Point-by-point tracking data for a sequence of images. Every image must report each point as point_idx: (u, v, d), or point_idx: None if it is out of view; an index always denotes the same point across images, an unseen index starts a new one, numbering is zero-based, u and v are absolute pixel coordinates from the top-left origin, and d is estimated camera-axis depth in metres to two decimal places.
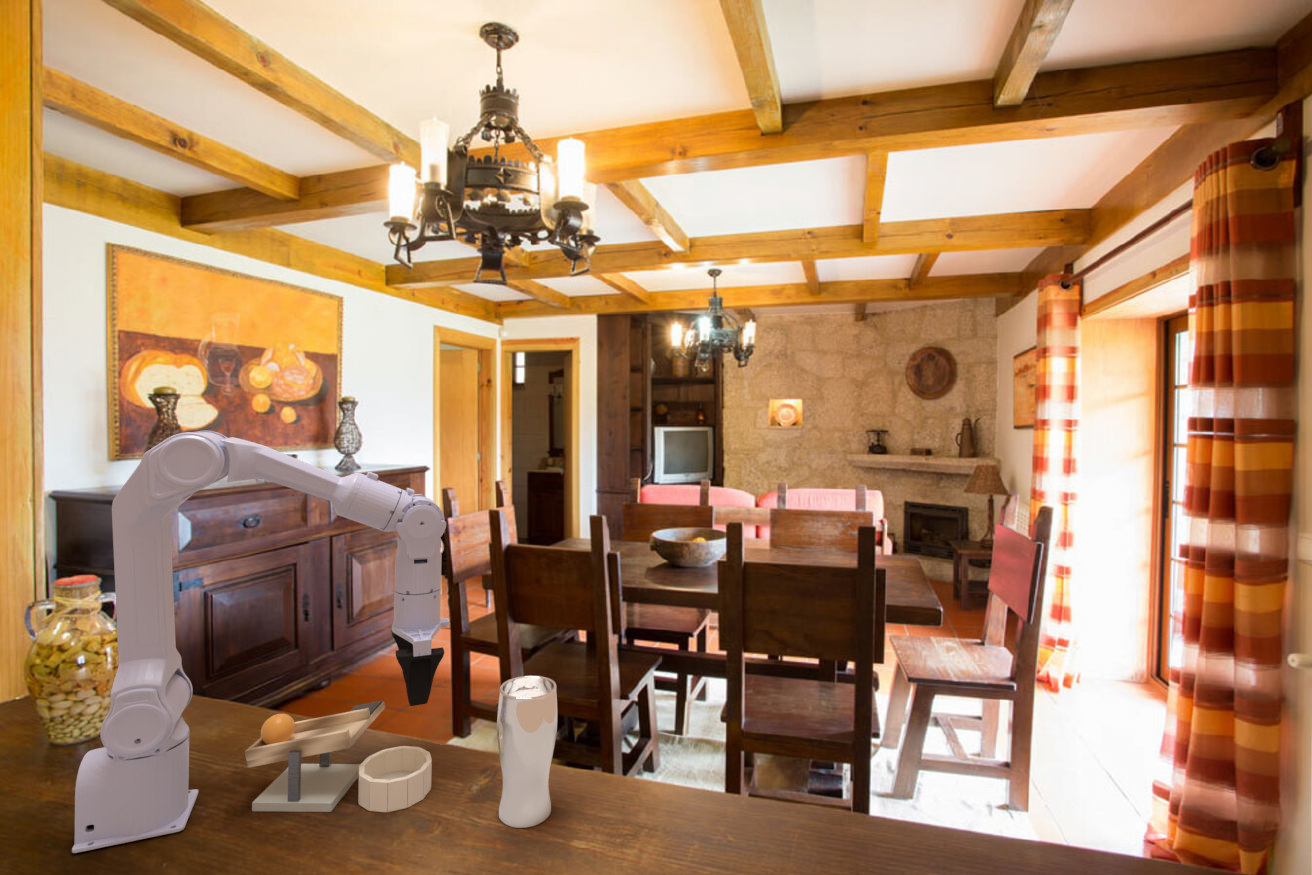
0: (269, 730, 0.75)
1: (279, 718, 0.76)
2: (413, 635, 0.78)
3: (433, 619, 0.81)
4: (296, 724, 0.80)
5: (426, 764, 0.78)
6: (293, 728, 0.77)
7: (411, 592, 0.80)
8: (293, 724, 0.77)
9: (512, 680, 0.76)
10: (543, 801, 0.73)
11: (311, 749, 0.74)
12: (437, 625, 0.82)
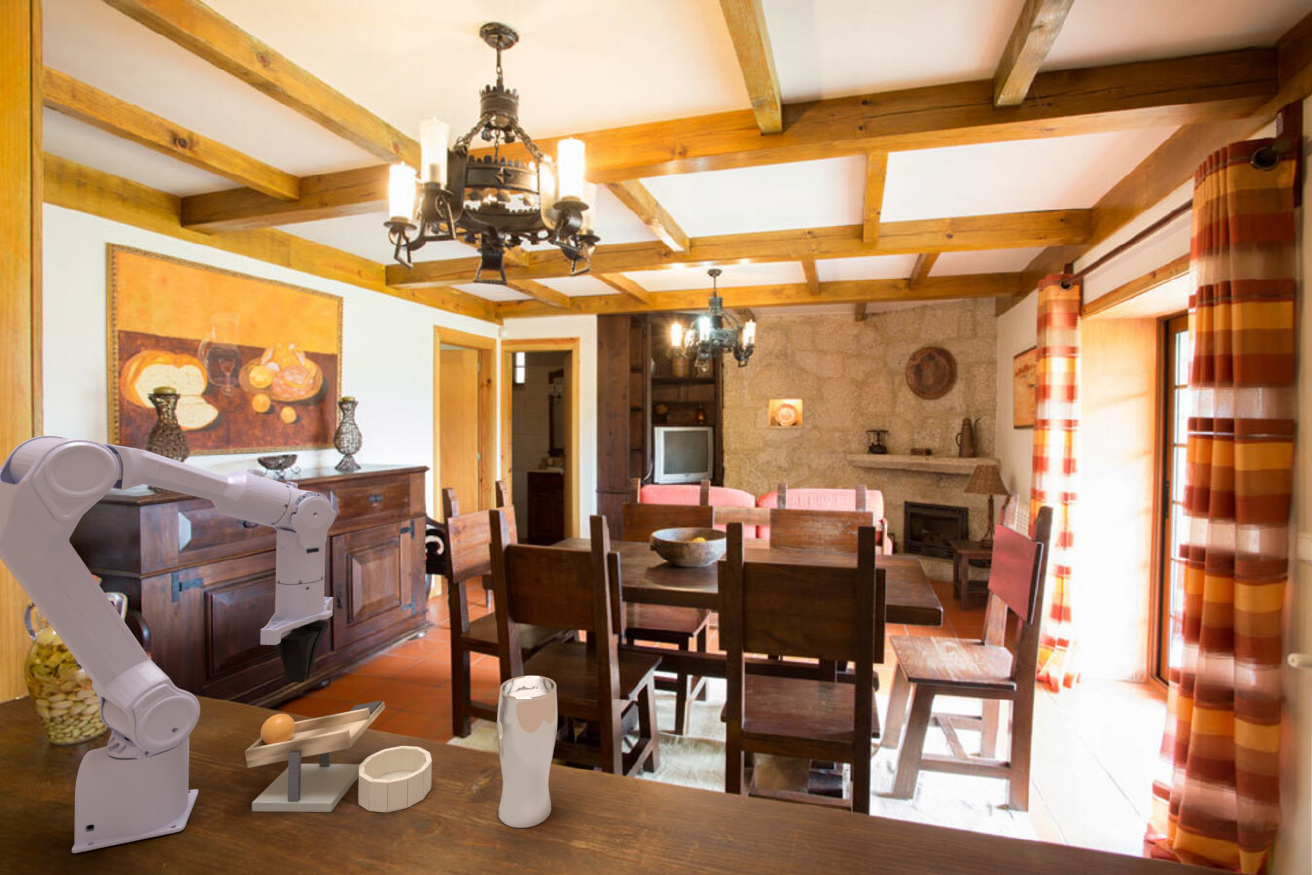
0: (269, 730, 0.75)
1: (279, 718, 0.76)
2: (273, 623, 0.80)
3: (305, 611, 0.82)
4: (296, 724, 0.80)
5: (426, 764, 0.78)
6: (293, 728, 0.77)
7: (304, 581, 0.82)
8: (293, 724, 0.77)
9: (512, 680, 0.76)
10: (543, 801, 0.73)
11: (311, 749, 0.74)
12: (308, 617, 0.82)
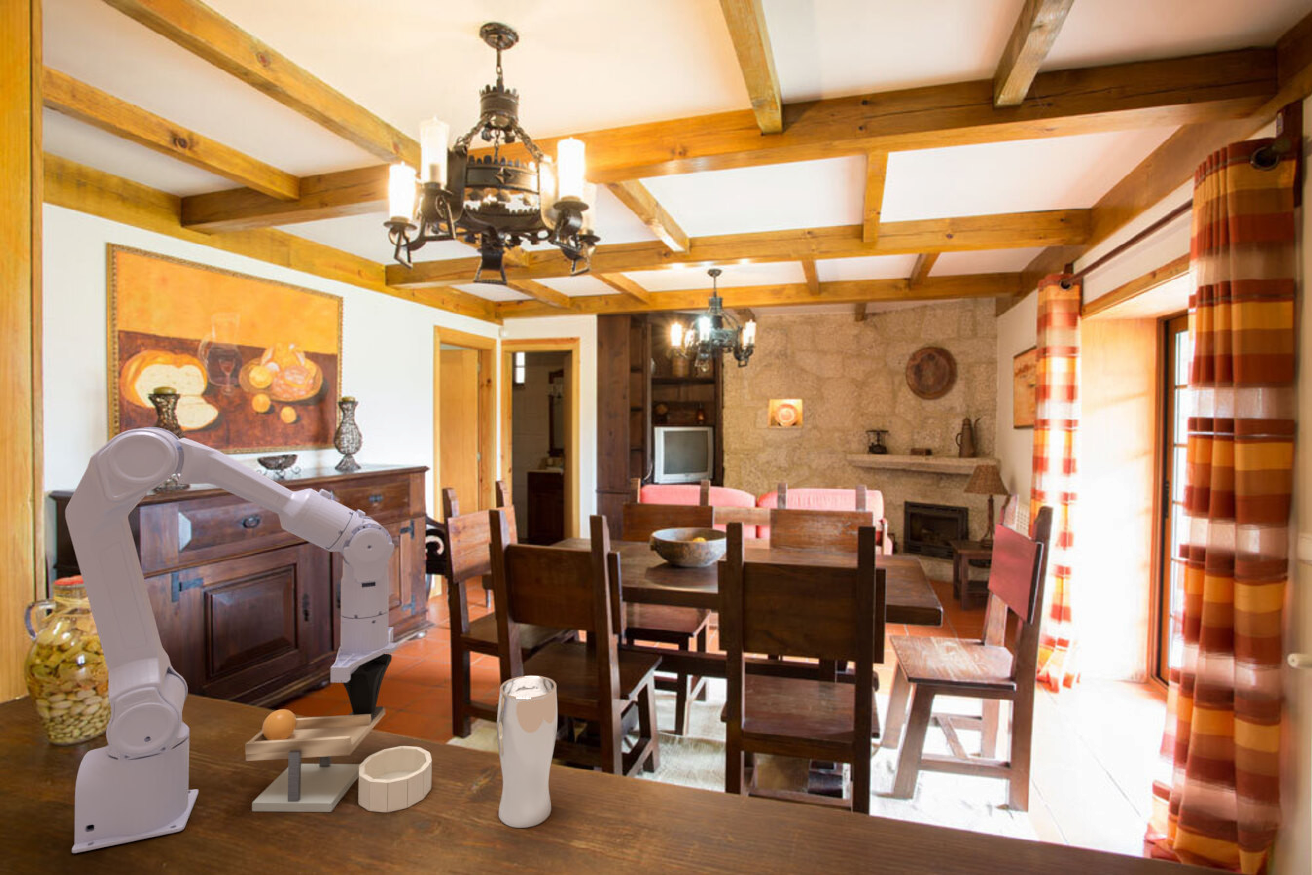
0: (271, 726, 0.75)
1: (283, 714, 0.76)
2: (341, 659, 0.78)
3: (371, 645, 0.80)
4: (297, 721, 0.80)
5: (426, 764, 0.78)
6: (294, 726, 0.77)
7: (359, 616, 0.80)
8: (295, 722, 0.77)
9: (512, 680, 0.76)
10: (543, 801, 0.73)
11: (311, 751, 0.74)
12: (375, 651, 0.80)
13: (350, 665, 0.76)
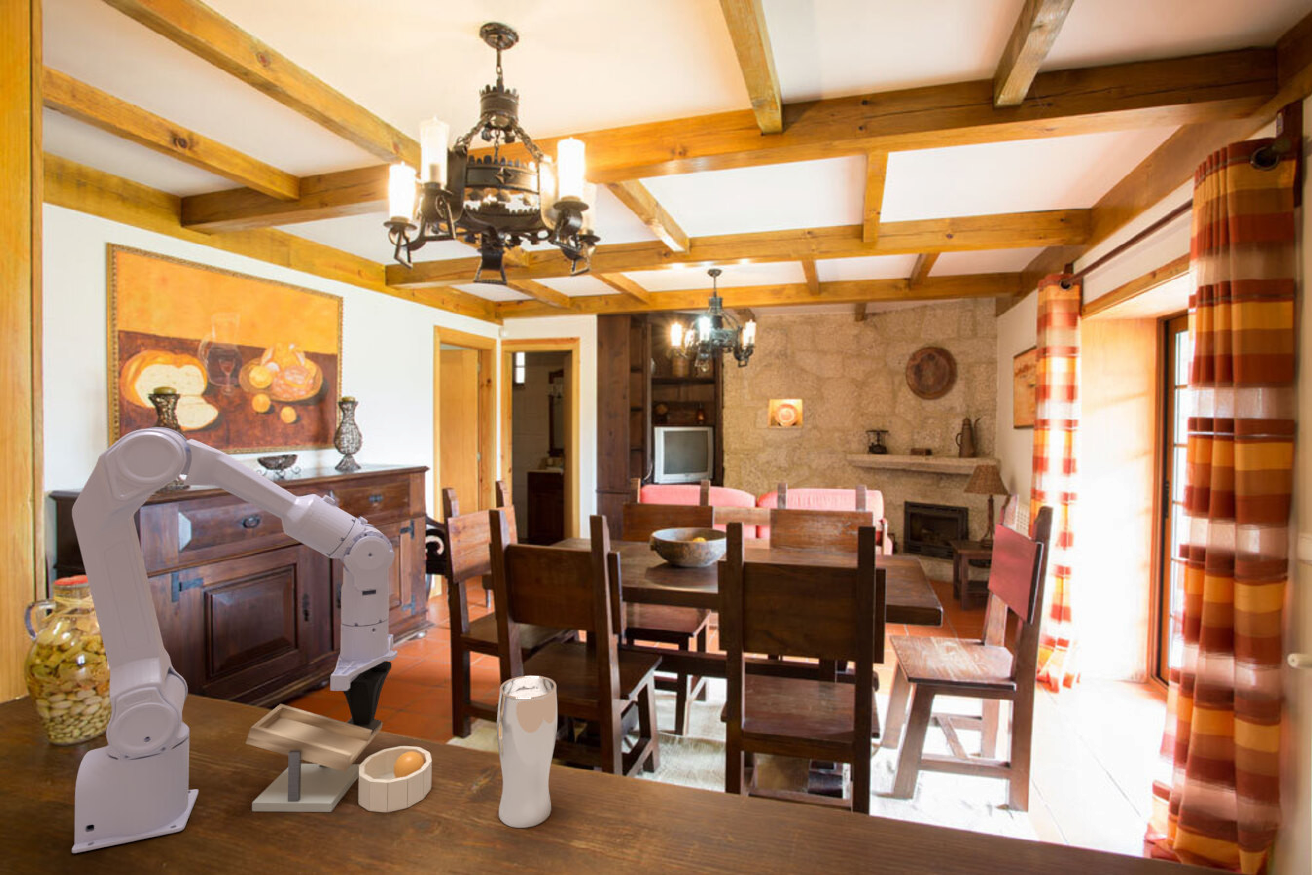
0: (404, 773, 0.77)
1: None
2: (341, 667, 0.78)
3: (371, 653, 0.80)
4: (301, 713, 0.80)
5: (426, 764, 0.78)
6: None
7: (359, 624, 0.80)
8: None
9: (512, 680, 0.76)
10: (543, 801, 0.73)
11: (310, 755, 0.74)
12: (375, 659, 0.80)
13: (350, 673, 0.76)
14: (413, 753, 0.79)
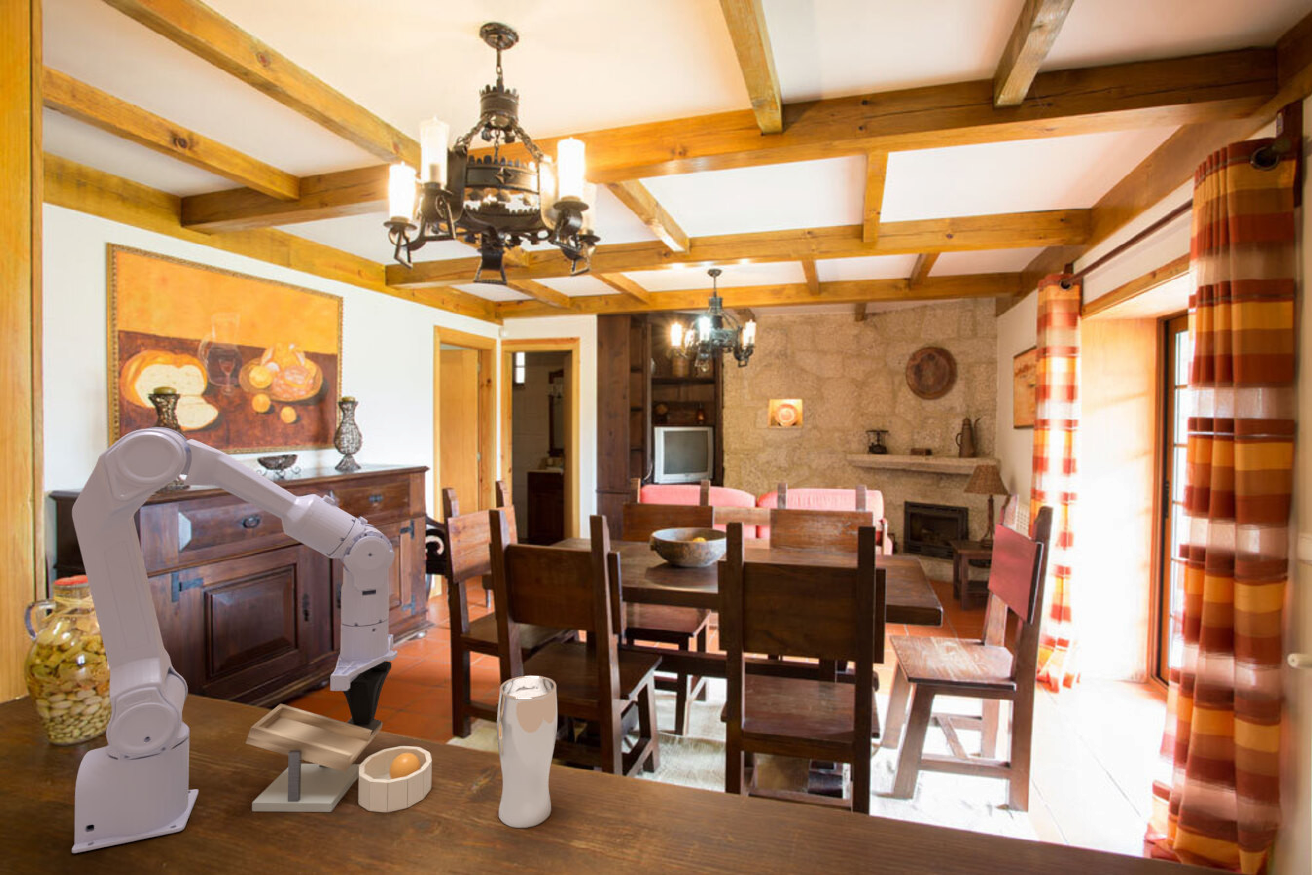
0: (399, 777, 0.77)
1: None
2: (341, 667, 0.78)
3: (371, 653, 0.80)
4: (301, 713, 0.80)
5: (426, 764, 0.78)
6: None
7: (359, 624, 0.80)
8: None
9: (512, 680, 0.76)
10: (543, 801, 0.73)
11: (310, 756, 0.74)
12: (375, 659, 0.80)
13: (350, 673, 0.76)
14: (405, 755, 0.78)
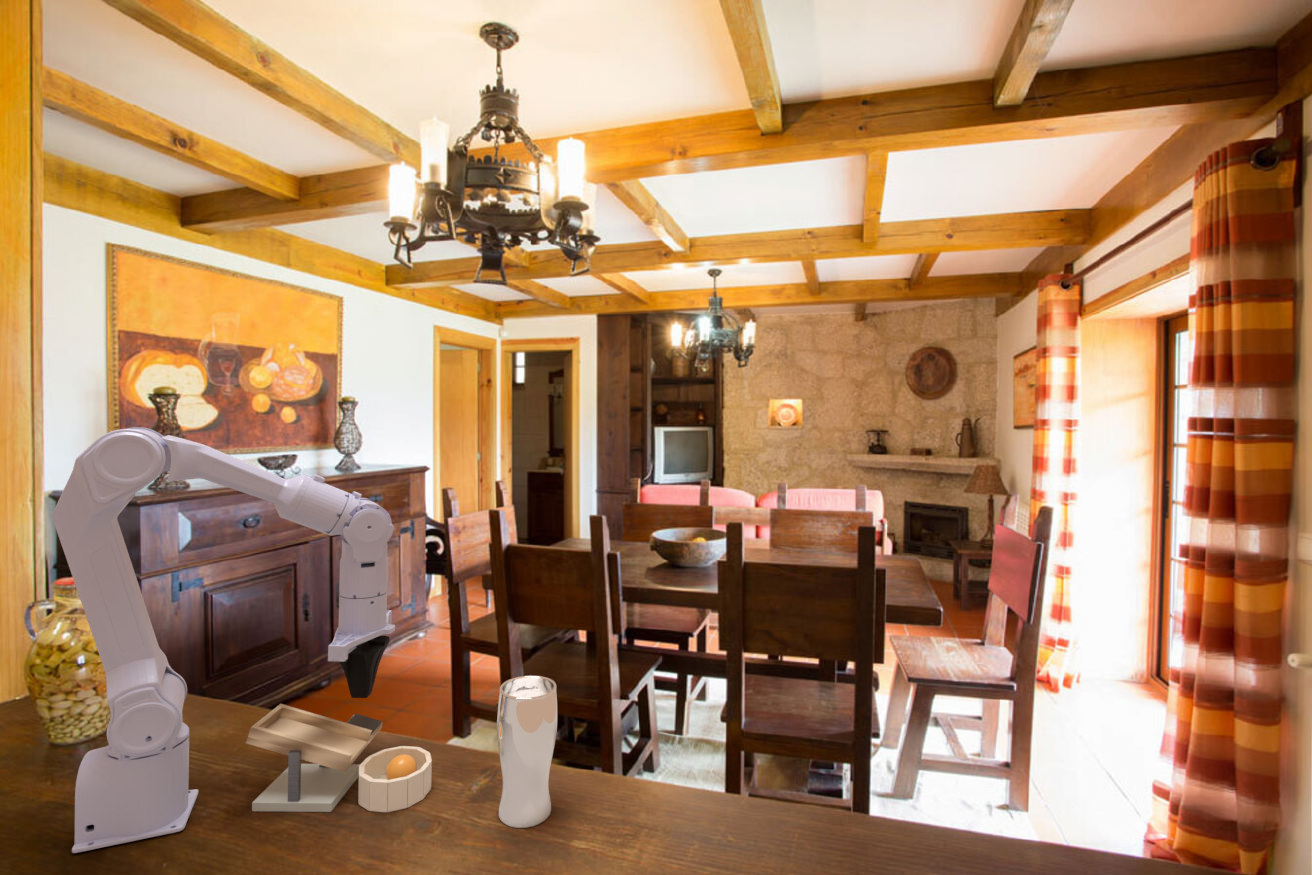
0: None
1: None
2: (339, 639, 0.78)
3: (369, 626, 0.80)
4: (301, 713, 0.80)
5: (426, 764, 0.78)
6: None
7: (358, 596, 0.80)
8: None
9: (512, 680, 0.76)
10: (543, 801, 0.73)
11: (310, 756, 0.74)
12: (373, 632, 0.80)
13: (348, 644, 0.76)
14: (398, 759, 0.77)
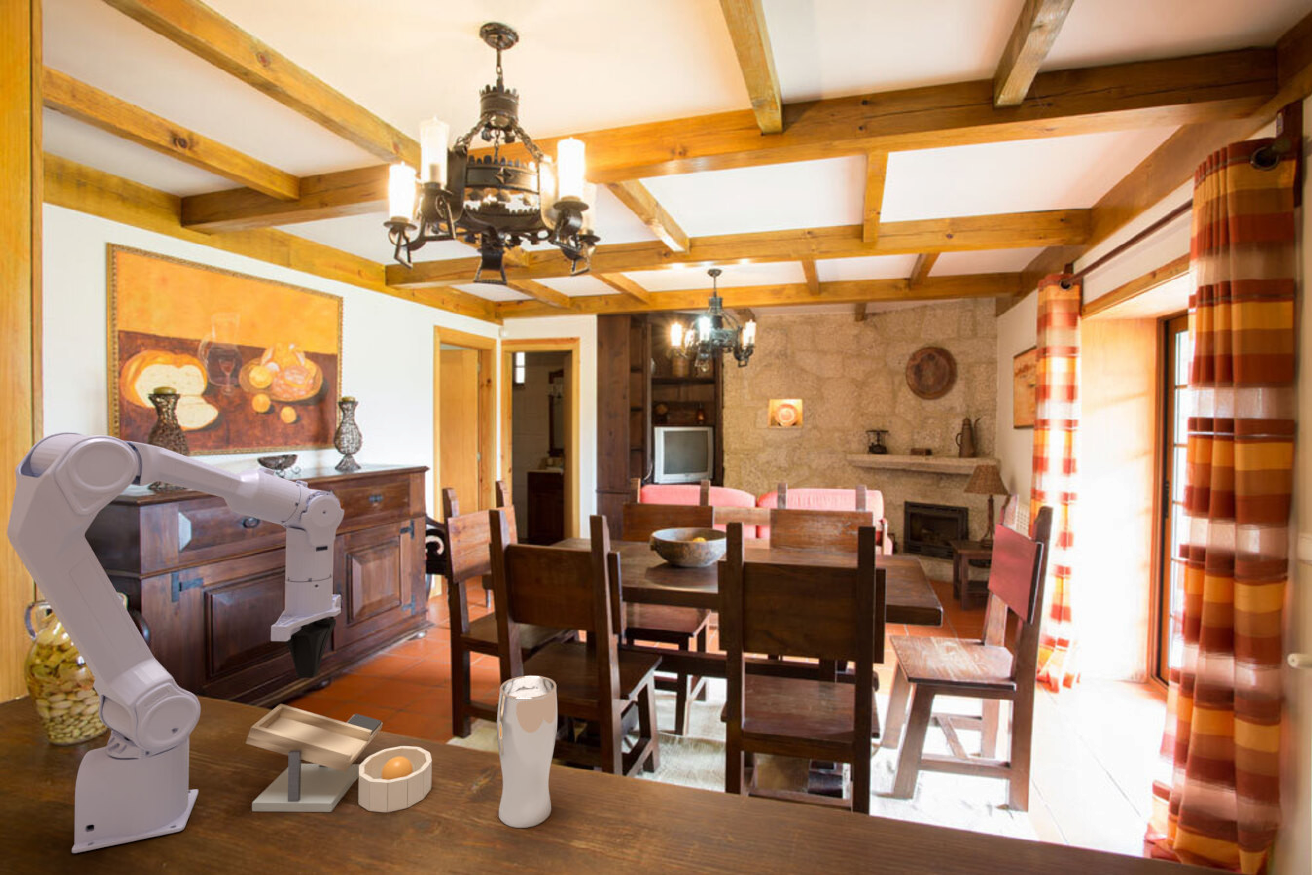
0: None
1: None
2: (283, 620, 0.81)
3: (314, 608, 0.84)
4: (301, 713, 0.80)
5: (426, 764, 0.78)
6: None
7: (313, 579, 0.84)
8: None
9: (512, 680, 0.76)
10: (543, 801, 0.73)
11: (310, 756, 0.74)
12: (317, 614, 0.84)
13: (290, 625, 0.79)
14: (390, 766, 0.76)
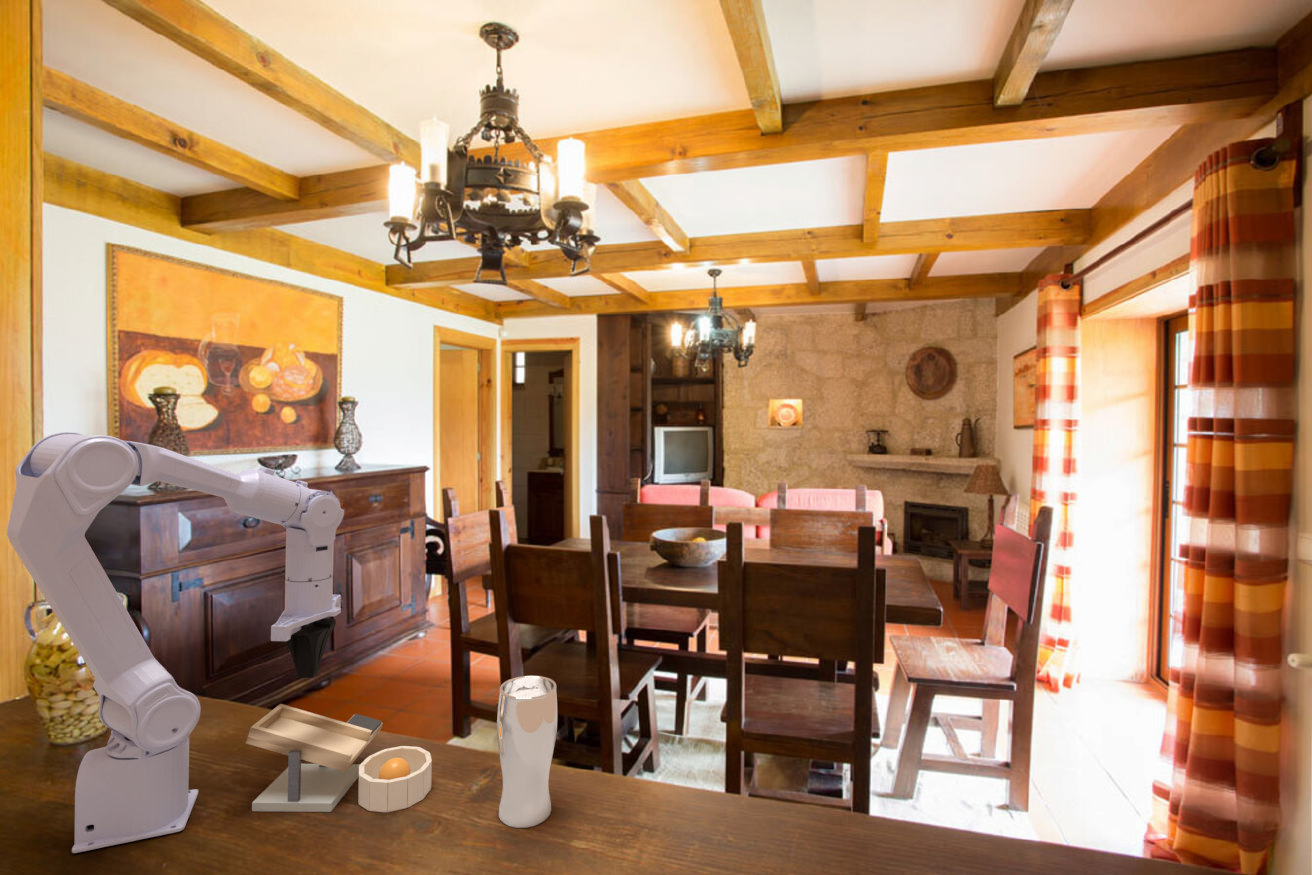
0: None
1: None
2: (283, 620, 0.81)
3: (314, 608, 0.84)
4: (301, 713, 0.80)
5: (426, 764, 0.78)
6: None
7: (313, 579, 0.84)
8: None
9: (512, 680, 0.76)
10: (543, 801, 0.73)
11: (310, 756, 0.74)
12: (317, 614, 0.84)
13: (290, 625, 0.79)
14: (386, 769, 0.76)
